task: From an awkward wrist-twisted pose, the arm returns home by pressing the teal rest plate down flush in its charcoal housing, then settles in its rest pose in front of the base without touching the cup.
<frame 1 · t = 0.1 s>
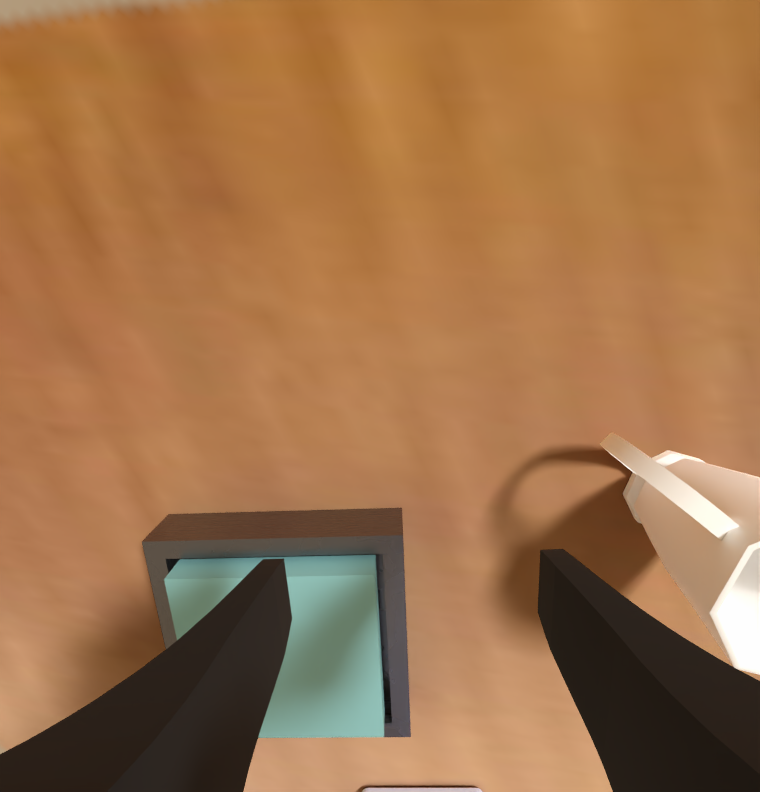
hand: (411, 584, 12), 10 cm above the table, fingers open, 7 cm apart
rest plate: (283, 649, 21), point 3 cm above the table, slide at 0.0 cm
cup: (643, 471, 21), on the table
plate housing: (295, 609, 24), on the table
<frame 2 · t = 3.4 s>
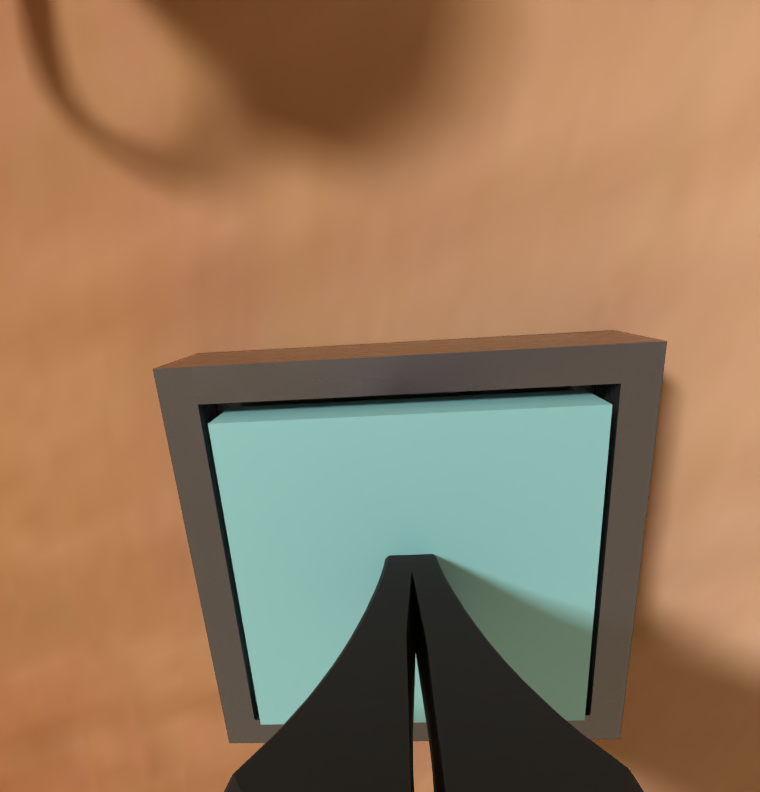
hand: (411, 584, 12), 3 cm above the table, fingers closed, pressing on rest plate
rest plate: (412, 567, 12), point 2 cm above the table, slide at 0.6 cm, touching gripper
plate housing: (409, 526, 14), on the table
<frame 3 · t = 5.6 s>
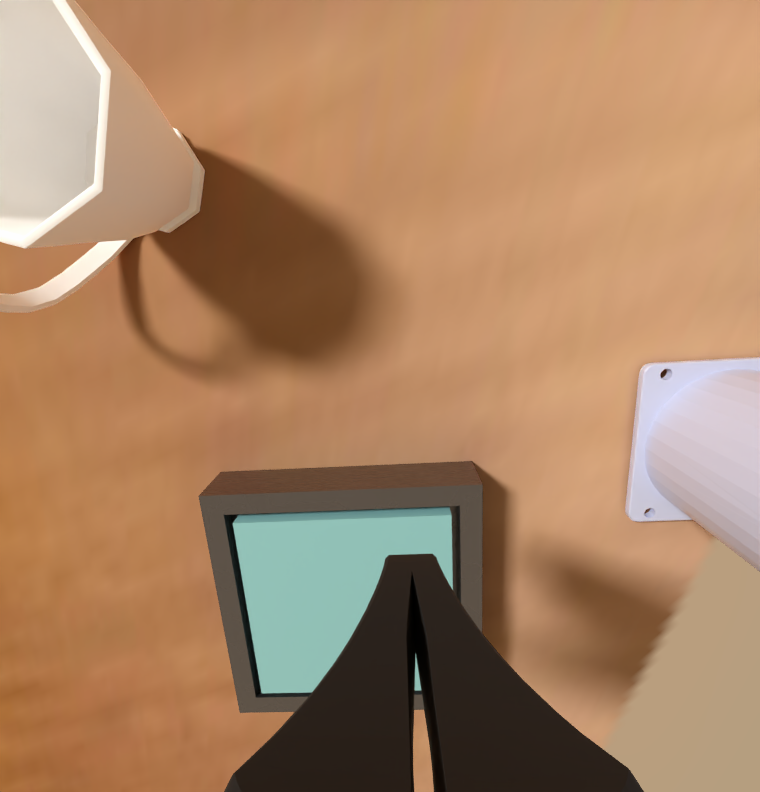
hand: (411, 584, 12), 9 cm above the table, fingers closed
rest plate: (351, 599, 21), point 2 cm above the table, slide at 0.9 cm
cup: (142, 209, 18), on the table
plate housing: (354, 574, 23), on the table
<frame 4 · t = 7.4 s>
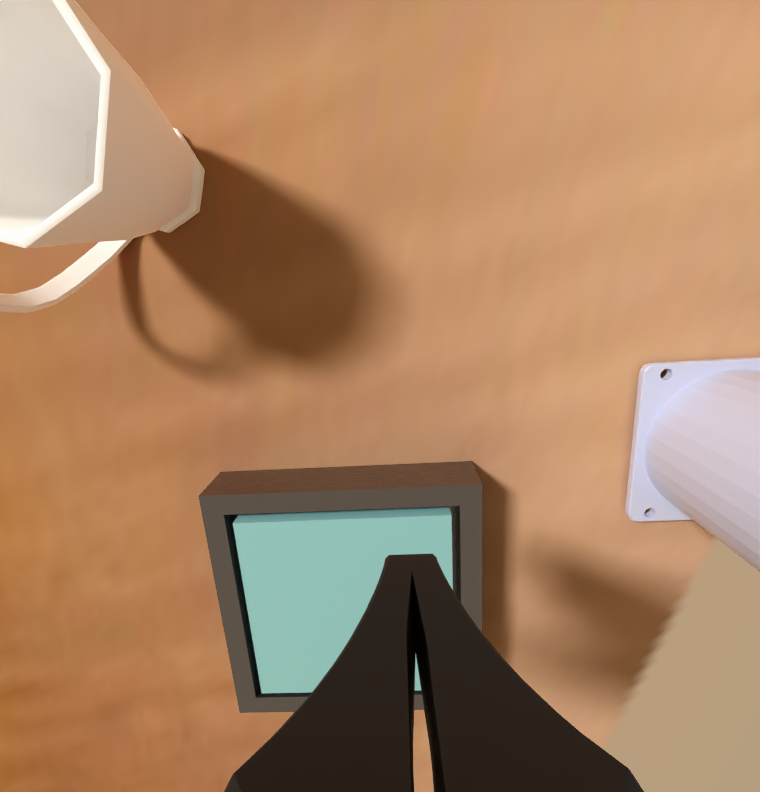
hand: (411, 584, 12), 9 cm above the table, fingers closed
rest plate: (351, 599, 21), point 2 cm above the table, slide at 0.9 cm
cup: (142, 209, 18), on the table
plate housing: (354, 574, 23), on the table
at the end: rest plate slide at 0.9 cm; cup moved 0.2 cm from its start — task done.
